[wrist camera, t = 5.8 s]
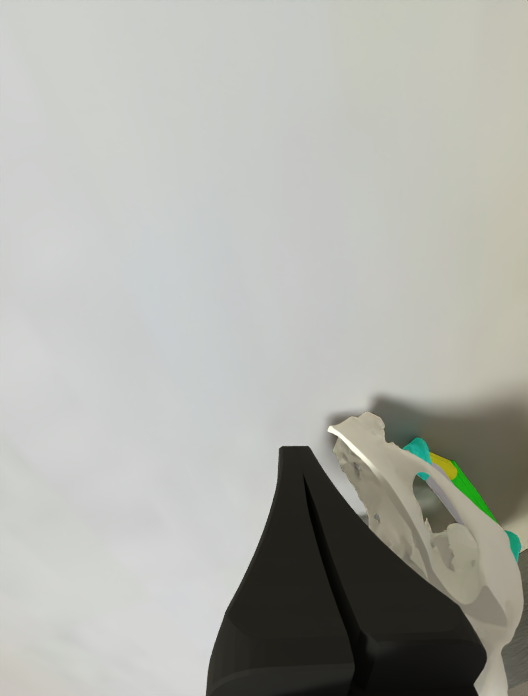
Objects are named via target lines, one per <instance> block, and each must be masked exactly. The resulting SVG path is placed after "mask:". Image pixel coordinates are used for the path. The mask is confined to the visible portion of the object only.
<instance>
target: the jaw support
mask: <svg viewBox="0 0 528 696" xmlns="http://www.w3.org/2000/svg"><path fill="white" fill-rule="evenodd" d="M384 428H385V425H384V423H383V421H382V419H381V418H380V417H378V416H376V415H374V414H372V413H370V412H367V411H366V412H364V413H363V414H362V415H361V416H359V417H358V418H357V417H354V416H351V417H349V418H348V419H346V420H345V421H343V422H342V423H340V424H338V425H334V426H330V427H329V429H328V432H331V433H333V434H335V435H337V436H338V439H337V442H336V444H335V447H334V449H333V451H332V452H333V453H335V454H336V456H337V459H338V460H339V462H340V466H341V468H342V471H343V472H345V473H346V475H347V477H348V479H349V481H350V482H351V483H352V484H353V486H354V487H355V490H356V491H357V493H358V496H359V498H360V500H361V501H362V502H363V503H364V505H365V507H366V511H367V514H368V517H369V528H370V529H371V530H372V531H373V532H374V533H375V534H376V536H377V537H378V538H379V539H380V540H381V541H382V542H383V543H384V544H386V545H387V546H388V547H389V548H390V549H391V550H392V551H393V552H394V553H395V554H396V555H397V556H398V557H400V558H401V559H402V560H403V561H404V562H405V563H406V564H407V565H408V566H409V567H411V568H412V569H413V570H414V571H415V572H417V573H418V574H419V575H420V576H421V577H422V578H424V579H425V580H426V581H427V582H429V583H430V584H431V585H433V586H434V587H435V588H437V589H438V590H439V591H441V592H442V593H443V594H445V595H446V596H447V597H449V598H450V599H451V600H452V601H454V602H455V603H456V604H458V605H459V606H460V608H461V609H462V611H463V613H464V614H465V616H466V617H467V619H468V620H469V622H470V623H471V625H472V626H473V628H474V630H475V631H476V633H477V635H478V637H479V639H480V641H481V642H482V644H483V646H484V648H485V650H486V652H487V662H486V664H485V667H484V669H483V671H482V672H481V674H480V675H479V677H478V678H477V680H476V681H475V683H474V687H475V689H476V691H477V693H478V695H479V696H508V693H507V690H508V684H507V677H506V673H505V669H504V664H503V660H502V656H501V651H502V648H503V647H504V646H505V645H506V644H508V643H509V642H510V641H511V640H512V638H513V636H514V633H515V630H516V628H517V626H518V625H519V622H520V619H521V616H522V611H523V604H524V599H523V589H522V581H521V575H520V570H519V567H518V564H517V563H518V556H519V552H520V549H521V544H520V541H519V538H518V536H517V535H515V534H514V533H512V532H510V531H506V530H503V528H502V527H500V525H499V524H498V522H497V521H496V519H495V518H494V516H493V515H492V513H491V511H490V510H489V508H488V507H487V505H486V504H485V502H484V501H483V499H482V498H481V496H480V495H479V493H478V492H477V490H476V489H475V488H474V487H473V485H472V484H471V482H470V481H469V480H468V479H467V477H466V476H465V475H464V473H463V472H462V471H461V469H460V468H459V467H458V465H457V464H456V462H455V461H453V460H450V461H449V460H447V459H445V458H443V457H440V456H438V455H436V454H433V453H431V452H429V448H428V446H427V444H426V442H425V441H424V440H423V439H422V438H415V439H414V440H413V441H411V443H409V444H408V445H407V446H405V447H404V448H403V449H400V448H399V447H398V446H397V445H395V444H394V443H393V442H391V443H387V442H386V441H385V432H384ZM355 463H357V464H358V465H359V466H360V468H359V469H358V468H356V467H355ZM416 475H417V476H419V477H420V478H421V479H423V480H425V481H426V483H427V484H428V485H429V486H430V488H431V489H432V490H433V492H434V493H435V494H436V495H437V497H438V498H439V499H440V500H441V502H442V503H443V504H444V506H445V507H446V508H447V509H448V511H449V512H450V513H451V514H452V516H453V517H454V518H455V520H456V521H457V522H458V523H452V524H450V525H449V526H448V527H447V530H446V531H443V532H441V533H432V530H431V527H430V525H429V523H428V519H427V518H426V521H425V522H424V520H423V515H422V511H421V507H420V505H419V503H418V501H417V500H416V498H415V496H414V493H413V480H414V478H415V476H416ZM375 514H378V515H379V519H380V523H379V521H378V520H376V519H375Z"/></svg>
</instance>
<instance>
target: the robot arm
mask: <svg viewBox="0 0 528 696" xmlns="http://www.w3.org/2000/svg"><path fill="white" fill-rule="evenodd" d="M486 662H487V652H486V650H485V648H484V646H483V644H482V642H481V641H480V639H479V637H478V635H477V633H476V631H475V630H474V628H473V626H472V625H471V623H470V622H469V620H468V619H467V617H466V616H465V614H464V613H463V611H462V609H461V608H460V606H459V605H458V604H456V603H455V602H454V601H452V600H451V599H450V598H449V597H447V596H446V595H445V594H443V593H442V592H441V591H439V590H438V589H437V588H435V587H434V586H433V585H431V584H430V583H429V582H427V581H426V580H425V579H424V578H422V577H421V576H420V575H419V574H418V573H417V572H415V571H414V570H413V569H412V568H411V567H409V566H408V565H407V564H406V563H405V562H404V561H403V560H402V559H401V558H400V557H398V556H397V555H396V554H395V553H394V552H393V551H392V550H391V549H390V548H389V547H388V546H387V545H386V544H384V543H383V542H382V541H381V540H380V539H379V538H378V537H377V536H376V534H375V533H374V532H373V531H372V530H371V529H370V528H369V527H368V526H367V525H366V524H365V523H364V522H363V521H362V520H361V518H360V517H359V516H358V515H357V514H356V513H355V511H354V510H353V509H352V508H351V507H350V505H349V504H348V503H347V502H346V500H345V499H344V498H343V497H342V495H341V494H340V493H339V491H338V490H337V489H336V487H335V486H334V484H333V483H332V482H331V480H330V479H329V477H328V476H327V474H326V473H325V472H324V470H323V468H322V467H321V465H320V464H319V462H318V461H317V459H316V457H315V456H314V454H313V452H312V450H311V448H310V447H309V446H282V447H281V448H279V461H278V479H277V486H276V491H275V494H274V498H273V502H272V506H271V509H270V513H269V516H268V519H267V522H266V525H265V528H264V530H263V533H262V536H261V538H260V541H259V543H258V546H257V549H256V551H255V553H254V556H253V558H252V560H251V562H250V564H249V567H248V569H247V571H246V573H245V575H244V577H243V579H242V581H241V583H240V585H239V587H238V589H237V591H236V593H235V595H234V597H233V599H232V601H231V602H230V604H229V606H228V608H227V610H226V612H225V615H224V618H223V621H222V624H221V627H220V630H219V633H218V635H217V638H216V641H215V644H214V648H213V651H212V655H211V658H210V663H209V668H208V677H207V689H206V696H479V695H478V693H477V691H476V689H475V687H474V683H475V681H476V680H477V678H478V677H479V675H480V674H481V672H482V671H483V669H484V667H485V664H486Z"/></svg>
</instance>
